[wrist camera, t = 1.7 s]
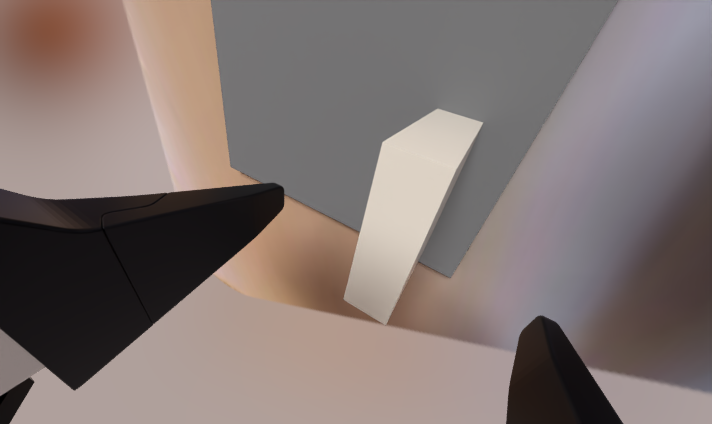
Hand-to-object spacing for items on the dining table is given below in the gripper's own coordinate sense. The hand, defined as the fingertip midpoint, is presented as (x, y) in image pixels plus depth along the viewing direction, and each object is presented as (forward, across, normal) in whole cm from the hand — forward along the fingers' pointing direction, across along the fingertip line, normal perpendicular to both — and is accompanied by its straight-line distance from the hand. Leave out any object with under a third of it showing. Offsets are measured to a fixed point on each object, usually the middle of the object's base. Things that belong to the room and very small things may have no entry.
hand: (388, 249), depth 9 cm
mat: (+7, +6, -2) cm, 9 cm away
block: (+6, 0, 0) cm, 6 cm away
